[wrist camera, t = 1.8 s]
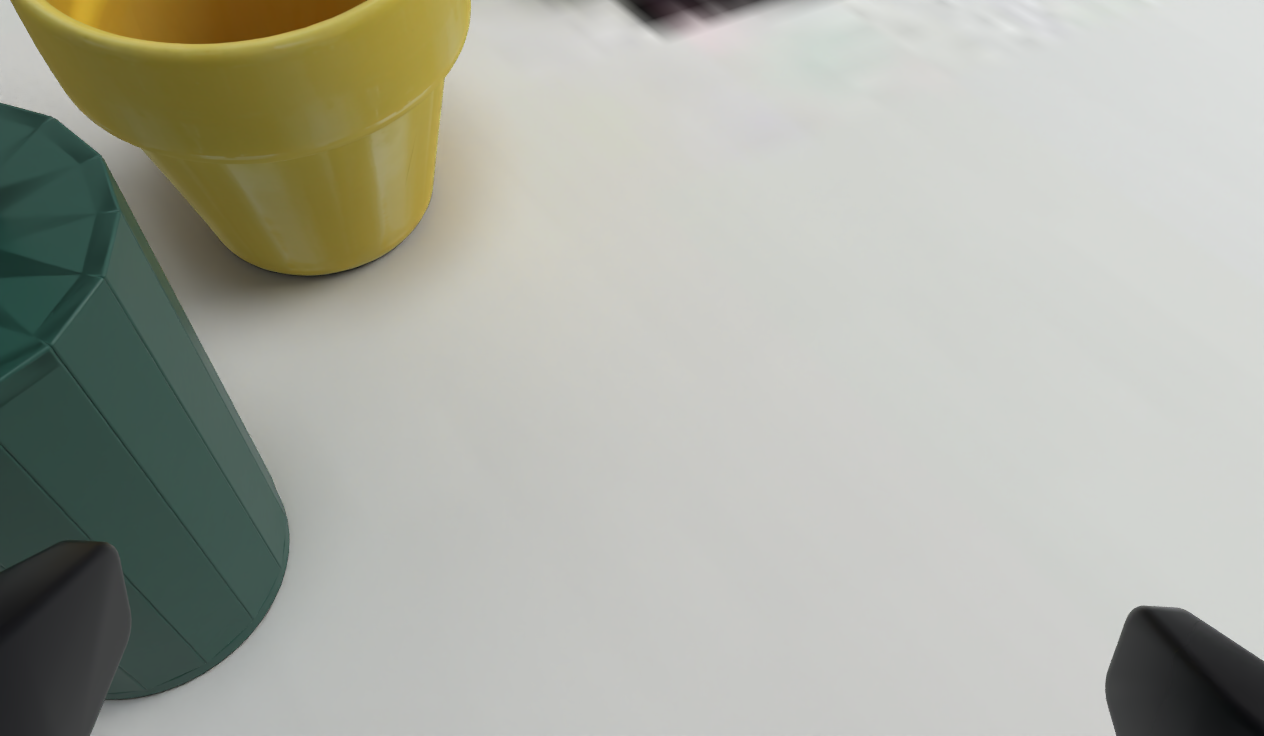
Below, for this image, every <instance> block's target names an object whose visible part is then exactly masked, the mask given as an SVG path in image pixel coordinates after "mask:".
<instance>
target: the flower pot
mask: <svg viewBox="0 0 1264 736" xmlns="http://www.w3.org/2000/svg"><path fill="white" fill-rule="evenodd" d="M11 2H12V4H13V6H14V8H15V10H16V12H17V13H18V15H19V17H20V19H21V21H22V22H23V24H24V26H25V28H26V29H27V31H28V33H29V35H30V37H31V38H32V40H33V42H34V44H35V45H36V47H37V49H38V50H39V52H40V54H41V55H42V57H43V58H44V60H45V62H46V63H47V65H48V66H49V68H50V70H51V71H52V73H53V74H54V76H55V77H56V79H57V80H58V82H59V83H60V85H61V86H62V88H63V89H64V91H65V92H66V94H67V95H68V96H69V98H70V99H71V100H72V102H73V103H74V104H75V105H76V106H77V107H78V108H79V109H80V110H81V111H82V112H83V113H84V114H85V115H86V116H87V117H88V118H89V119H91V120H92V121H93V122H94V123H95V124H97V125H98V126H100V127H101V128H103V129H104V130H106V131H107V132H109V133H110V134H112V135H114V136H116V137H117V138H119V139H121V140H123V141H126V142H128V143H130V144H132V145H134V146H137V147H139V148H141V149H142V150H143V151H144V152H145V154H146V155H147V156H148V157H149V158H150V159H151V160H152V161H153V163H154V164H155V165H156V166H157V167H158V168H159V169H160V171H161V172H162V173H163V174H164V175H165V176H166V177H167V178H168V180H169V181H170V182H171V183H172V184H173V185H174V186H175V188H176V189H177V190H178V191H179V192H180V193H181V194H182V196H183V197H184V198H185V199H186V200H187V201H188V202H189V204H190V205H191V206H192V207H193V208H194V209H195V211H196V212H197V213H198V214H199V215H200V216H201V217H202V219H203V220H204V221H205V222H206V223H207V225H208V226H209V227H210V228H211V229H212V231H213V232H214V233H215V234H216V235H217V237H218V238H219V239H220V240H221V241H222V243H223V244H224V245H225V246H226V247H227V248H228V249H229V250H231V251H232V252H233V253H234V254H236V255H237V256H238V257H240V258H241V259H243V260H245V261H247V262H248V263H251V264H253V265H255V266H257V267H260V268H263V269H266V270H269V271H274V272H278V273H284V274H291V275H308V276H312V275H324V274H331V273H336V272H341V271H345V270H349V269H352V268H355V267H358V266H361V265H363V264H366V263H368V262H371V261H373V260H375V259H377V258H379V257H381V256H383V255H385V254H386V253H388V252H389V251H391V250H392V249H393V248H395V247H396V246H397V245H399V244H400V243H401V242H402V241H403V240H404V239H405V238H406V237H407V236H408V235H409V234H410V233H411V232H412V231H413V230H414V228H415V227H416V226H417V224H418V223H419V222H420V220H421V219H422V217H423V215H424V213H425V211H426V209H427V208H428V205H429V202H430V199H431V195H432V191H433V182H434V173H435V163H436V153H437V144H438V134H439V125H440V116H441V107H442V98H443V89H444V80H445V77H446V75H447V74H448V73H449V71H450V70H451V68H452V67H453V65H454V63H455V62H456V60H457V58H458V56H459V54H460V52H461V50H462V48H463V45H464V43H465V40H466V36H467V32H468V29H469V23H470V15H471V0H11Z"/></svg>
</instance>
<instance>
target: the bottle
mask: <svg viewBox="0 0 1264 736" xmlns="http://www.w3.org/2000/svg"><path fill="white" fill-rule="evenodd" d="M64 540H85V541H101V542H108V543H110V544H111V545H113V546H114V547H115V548H116V550H117V551H118V554H119V557H120V561H121V566H122V571H123V576H124V581H125V586H126V591H127V596H128V601H129V605H130V610H131V632H130V636H129V640H128V643H127V646H126V648H125V651H124V653H123V656H122V658H121V661H120V663H119V666H118V668H117V670H116V673H115V675H114V678H113V680H112V683H111V685H110V688H109V690H108V692H107V695H106V697H105V699H128V698H135V697H142V696H147V695H151V694H155V693H158V692H162V691H165V690H168V689H171V688H173V687H176V686H178V685H181V684H184V683H186V682H188V681H189V680H191V679H193V678H195V677H197V676H199V675H201V674H203V673H205V672H206V671H208V670H209V669H211V668H212V667H214V666H215V665H217V664H218V663H220V662H221V661H222V660H223V659H225V658H226V657H227V656H228V655H230V654H231V653H232V652H233V651H234V650H236V649H237V648H238V647H239V646H240V645H241V644H242V643H243V642H244V641H245V640H246V638H247V637H248V636H249V635H250V634H251V633H252V632H253V631H254V629H255V628H256V627H257V625H258V624H259V623H260V622H261V620H262V619H263V618H264V616H265V614H266V613H267V611H268V609H269V608H270V606H271V604H272V603H273V601H274V599H275V597H276V594H277V592H278V590H279V588H280V586H281V583H282V579H283V576H284V573H285V570H286V565H287V559H288V553H289V529H288V521H287V517H286V513H285V510H284V506H283V504H282V501H281V499H280V497H279V495H278V493H277V491H276V488H275V486H274V483H273V480H272V478H271V475H270V473H269V472H268V470H267V468H266V466H265V464H264V462H263V460H262V458H261V456H260V455H259V453H258V451H257V449H256V447H255V445H254V443H253V441H252V439H251V437H250V436H249V434H248V432H247V430H246V428H245V426H244V424H243V422H242V420H241V418H240V417H239V415H238V413H237V411H236V409H235V407H234V405H233V403H232V401H231V399H230V398H229V396H228V394H227V392H226V390H225V388H224V386H223V384H222V382H221V380H220V379H219V377H218V375H217V373H216V371H215V369H214V367H213V365H212V363H211V362H210V360H209V358H208V356H207V354H206V352H205V350H204V348H203V346H202V344H201V343H200V341H199V339H198V337H197V335H196V333H195V331H194V329H193V327H192V325H191V324H190V322H189V320H188V318H187V316H186V314H185V312H184V310H183V308H182V306H181V305H180V303H179V301H178V299H177V297H176V295H175V293H174V291H173V289H172V288H171V286H170V284H169V282H168V280H167V278H166V276H165V274H164V272H163V270H162V269H161V267H160V265H159V263H158V261H157V259H156V257H155V255H154V253H153V251H152V250H151V248H150V246H149V244H148V242H147V240H146V238H145V236H144V234H143V232H142V231H141V229H140V227H139V225H138V223H137V221H136V219H135V217H134V215H133V214H132V212H131V210H130V208H129V206H128V204H127V202H126V200H125V198H124V196H123V195H122V193H121V191H120V189H119V187H118V185H117V183H116V181H115V179H114V177H113V176H112V174H111V172H110V170H109V168H108V166H107V164H106V162H105V160H104V159H103V158H102V156H101V155H100V154H99V153H98V152H96V151H95V150H94V149H93V148H91V147H90V146H89V145H88V144H86V143H85V142H84V141H83V140H81V139H80V138H79V137H78V136H77V135H75V134H74V133H73V132H72V131H70V130H69V129H68V128H67V127H65V126H64V125H63V124H62V123H60V122H59V121H58V120H57V119H55V118H53V117H51V116H47V115H44V114H40V113H36V112H33V111H29V110H25V109H22V108H18V107H14V106H11V105H7V104H3V103H0V572H1V571H3V570H5V569H7V568H9V567H11V566H13V565H15V564H17V563H19V562H21V561H23V560H25V559H27V558H29V557H31V556H33V555H35V554H37V553H39V552H40V551H42V550H44V549H46V548H48V547H50V546H52V545H54V544H56V543H58V542H61V541H64Z"/></svg>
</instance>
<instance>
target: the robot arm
mask: <svg viewBox="0 0 1264 736" xmlns="http://www.w3.org/2000/svg"><path fill="white" fill-rule="evenodd" d="M130 632H131V610H130V605H129V601H128V596H127V591H126V586H125V581H124V576H123V571H122V566H121V561H120V557H119V554H118V551H117V550H116V548H115V547H114V546H113V545H111V544H110V543H108V542H101V541H85V540H64V541H61V542H58V543H56V544H54V545H52V546H50V547H48V548H46V549H44V550H42V551H40V552H39V553H37V554H35V555H33V556H31V557H29V558H27V559H25V560H23V561H21V562H19V563H17V564H15V565H13V566H11V567H9V568H7V569H5V570H3V571H1V572H0V736H90V734H91V731H92V729H93V727H94V724H95V722H96V719H97V717H98V714H99V712H100V710H101V707H102V705H103V702H104V700H105V697H106V695H107V692H108V690H109V688H110V685H111V683H112V680H113V678H114V675H115V673H116V670H117V668H118V666H119V663H120V661H121V658H122V656H123V653H124V651H125V648H126V646H127V643H128V640H129V636H130ZM1105 692H1106V700H1107V704H1108V708H1109V712H1110V715H1111V718H1112V722H1113V725H1114V729H1115V732H1116V736H1264V661H1263V660H1261V659H1260V658H1258V657H1257V656H1255V655H1254V654H1252V653H1250V652H1249V651H1247V650H1246V649H1244V648H1243V647H1241V646H1240V645H1238V644H1237V643H1235V642H1234V641H1232V640H1231V639H1229V638H1228V637H1226V636H1225V635H1223V634H1222V633H1220V632H1219V631H1217V630H1216V629H1214V628H1213V627H1211V626H1210V625H1208V624H1207V623H1205V622H1204V621H1202V620H1200V619H1199V618H1197V617H1196V616H1194V615H1193V614H1191V613H1190V612H1188V611H1186V610H1184V609H1181V608H1174V607H1158V606H1139V607H1136V608H1134V609H1133V610H1132V611H1131V612H1130V613H1129V615H1128V617H1127V619H1126V621H1125V624H1124V627H1123V630H1122V632H1121V635H1120V638H1119V641H1118V644H1117V646H1116V649H1115V652H1114V655H1113V658H1112V660H1111V663H1110V666H1109V669H1108V672H1107V676H1106V683H1105Z"/></svg>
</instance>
